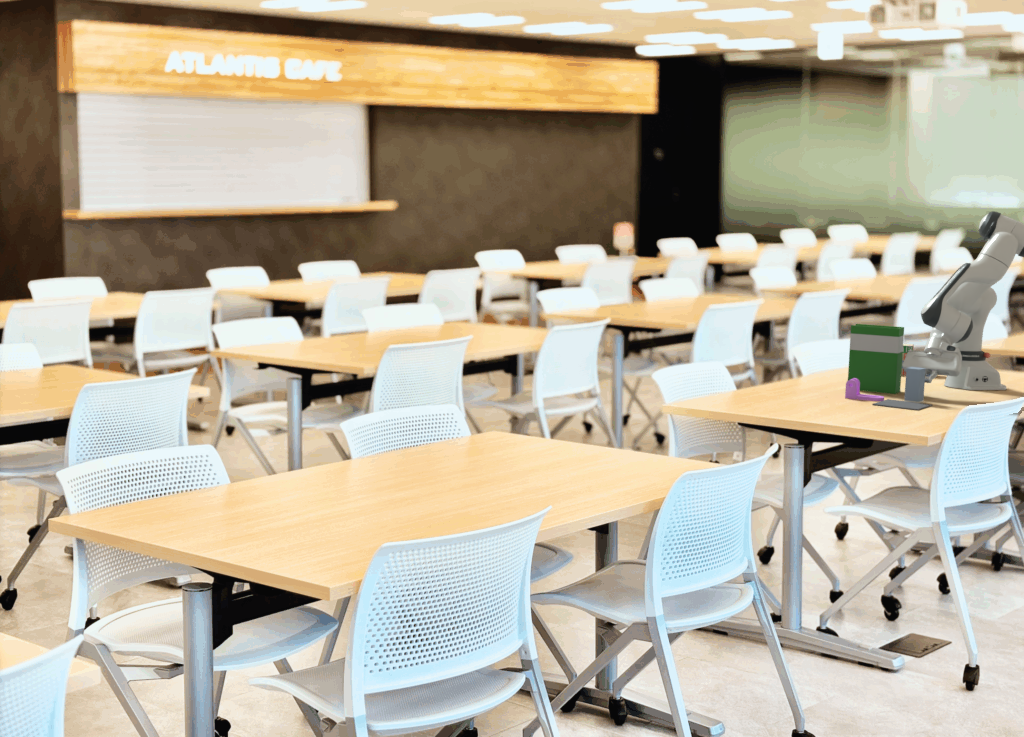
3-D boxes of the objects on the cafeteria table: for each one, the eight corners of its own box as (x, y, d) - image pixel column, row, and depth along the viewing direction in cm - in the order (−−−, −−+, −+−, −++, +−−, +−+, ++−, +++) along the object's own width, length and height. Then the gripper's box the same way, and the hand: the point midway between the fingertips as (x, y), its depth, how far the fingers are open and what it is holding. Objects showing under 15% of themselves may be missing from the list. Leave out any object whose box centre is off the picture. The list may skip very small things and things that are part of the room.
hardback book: (847, 389, 492) (851, 325, 489) (852, 387, 498) (856, 323, 495) (895, 394, 483) (899, 328, 480) (900, 391, 490) (904, 327, 486)
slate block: (909, 400, 469) (911, 366, 468) (923, 401, 466) (925, 368, 465) (904, 401, 465) (906, 368, 464) (918, 403, 462) (920, 369, 461)
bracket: (845, 398, 471) (846, 379, 470) (848, 396, 476) (849, 377, 475) (882, 402, 465) (883, 382, 464) (885, 400, 470) (886, 380, 469)
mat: (888, 400, 468) (888, 399, 468) (932, 405, 458) (932, 404, 458) (872, 404, 457) (872, 403, 457) (917, 410, 447) (917, 409, 447)
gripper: (906, 344, 480) (895, 373, 474) (963, 348, 468) (952, 378, 462) (910, 355, 484) (899, 384, 478) (966, 359, 472) (956, 389, 466)
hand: (926, 381), depth 470 cm, fingers closed
